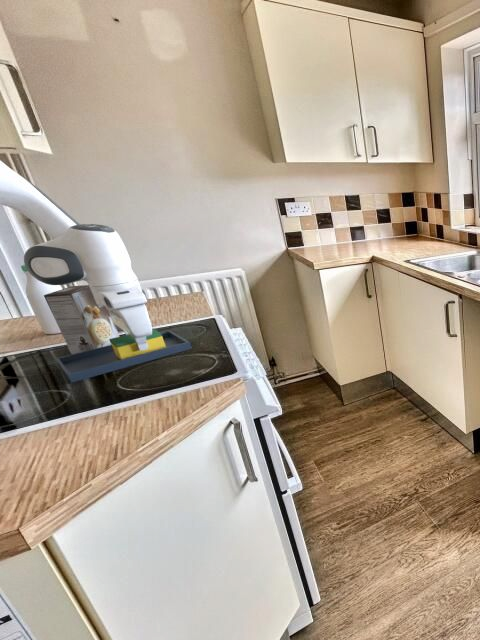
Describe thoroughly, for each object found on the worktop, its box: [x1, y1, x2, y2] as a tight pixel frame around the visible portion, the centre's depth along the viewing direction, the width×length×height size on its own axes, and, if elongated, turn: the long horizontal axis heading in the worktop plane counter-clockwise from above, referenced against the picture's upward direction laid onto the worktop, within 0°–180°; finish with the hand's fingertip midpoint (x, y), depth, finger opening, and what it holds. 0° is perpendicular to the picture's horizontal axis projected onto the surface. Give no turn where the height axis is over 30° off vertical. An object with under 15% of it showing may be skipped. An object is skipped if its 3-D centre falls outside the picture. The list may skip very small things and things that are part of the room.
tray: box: [54, 330, 192, 384], centre depth 106 cm, size 23×15×2 cm, turn 143°
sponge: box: [109, 328, 166, 360], centre depth 107 cm, size 9×6×4 cm, turn 143°
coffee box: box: [44, 284, 120, 355], centre depth 110 cm, size 9×6×16 cm
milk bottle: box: [20, 264, 63, 335], centre depth 123 cm, size 8×8×20 cm
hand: (139, 346), depth 107 cm, fingers closed on sponge, 6 cm apart
